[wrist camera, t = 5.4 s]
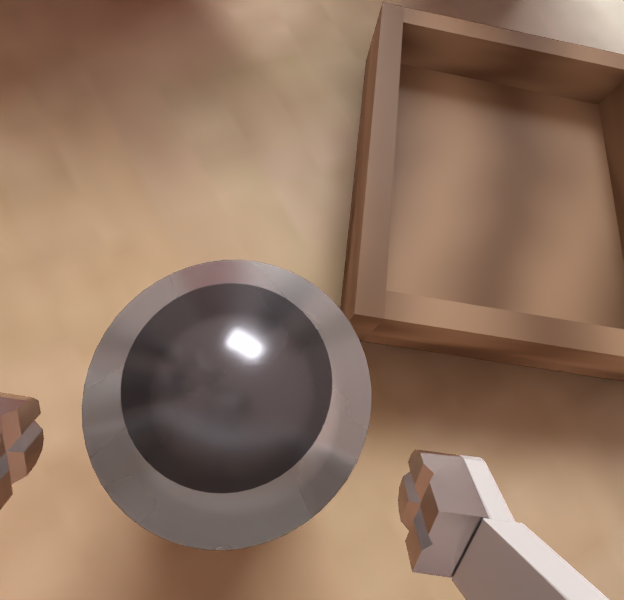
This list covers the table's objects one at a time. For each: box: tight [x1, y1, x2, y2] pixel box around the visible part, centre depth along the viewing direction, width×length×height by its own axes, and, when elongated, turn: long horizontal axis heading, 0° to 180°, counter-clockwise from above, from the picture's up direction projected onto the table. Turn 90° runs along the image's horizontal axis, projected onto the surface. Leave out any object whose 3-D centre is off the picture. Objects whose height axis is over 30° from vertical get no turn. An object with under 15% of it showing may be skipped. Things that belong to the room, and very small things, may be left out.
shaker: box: [82, 260, 371, 550], centre depth 11 cm, size 5×5×9 cm
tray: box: [341, 2, 624, 381], centre depth 18 cm, size 13×15×3 cm
